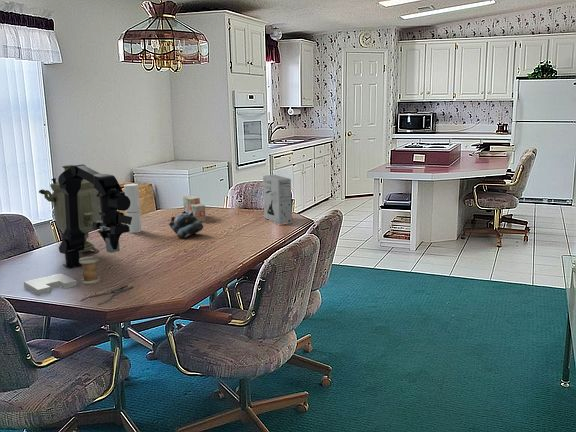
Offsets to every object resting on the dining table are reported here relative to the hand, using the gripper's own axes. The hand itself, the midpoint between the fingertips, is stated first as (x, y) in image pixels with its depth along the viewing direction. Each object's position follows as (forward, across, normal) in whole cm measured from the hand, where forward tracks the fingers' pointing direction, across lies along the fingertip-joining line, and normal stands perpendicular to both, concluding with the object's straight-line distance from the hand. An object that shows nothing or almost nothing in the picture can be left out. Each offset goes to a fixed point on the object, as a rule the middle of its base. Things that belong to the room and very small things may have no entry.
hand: (112, 248), depth 218 cm
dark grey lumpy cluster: (+11, +38, -60) cm, 72 cm away
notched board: (+11, +9, +22) cm, 26 cm away
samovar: (+11, +46, -8) cm, 48 cm away
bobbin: (+12, +3, +9) cm, 15 cm away
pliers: (+13, -16, +12) cm, 23 cm away
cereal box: (+12, +29, -115) cm, 119 cm away
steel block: (+1, 0, 0) cm, 1 cm away
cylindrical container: (+10, +69, -48) cm, 85 cm away
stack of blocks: (+11, +72, -89) cm, 115 cm away
